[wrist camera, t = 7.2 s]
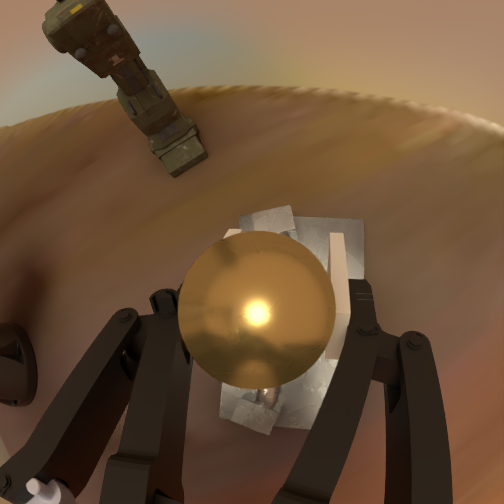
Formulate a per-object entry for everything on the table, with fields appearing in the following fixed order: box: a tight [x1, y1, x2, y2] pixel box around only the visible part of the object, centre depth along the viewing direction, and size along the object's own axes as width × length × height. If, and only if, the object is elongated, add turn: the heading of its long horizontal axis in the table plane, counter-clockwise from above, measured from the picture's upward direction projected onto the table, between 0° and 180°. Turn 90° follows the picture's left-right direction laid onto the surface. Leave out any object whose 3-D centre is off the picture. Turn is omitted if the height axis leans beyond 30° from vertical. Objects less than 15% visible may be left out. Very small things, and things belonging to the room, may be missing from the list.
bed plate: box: [219, 205, 364, 436], centre depth 29 cm, size 23×14×5 cm, turn 174°
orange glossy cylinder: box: [178, 231, 336, 390], centre depth 14 cm, size 5×5×11 cm
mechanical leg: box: [42, 0, 208, 177], centre depth 27 cm, size 14×7×30 cm, turn 29°
